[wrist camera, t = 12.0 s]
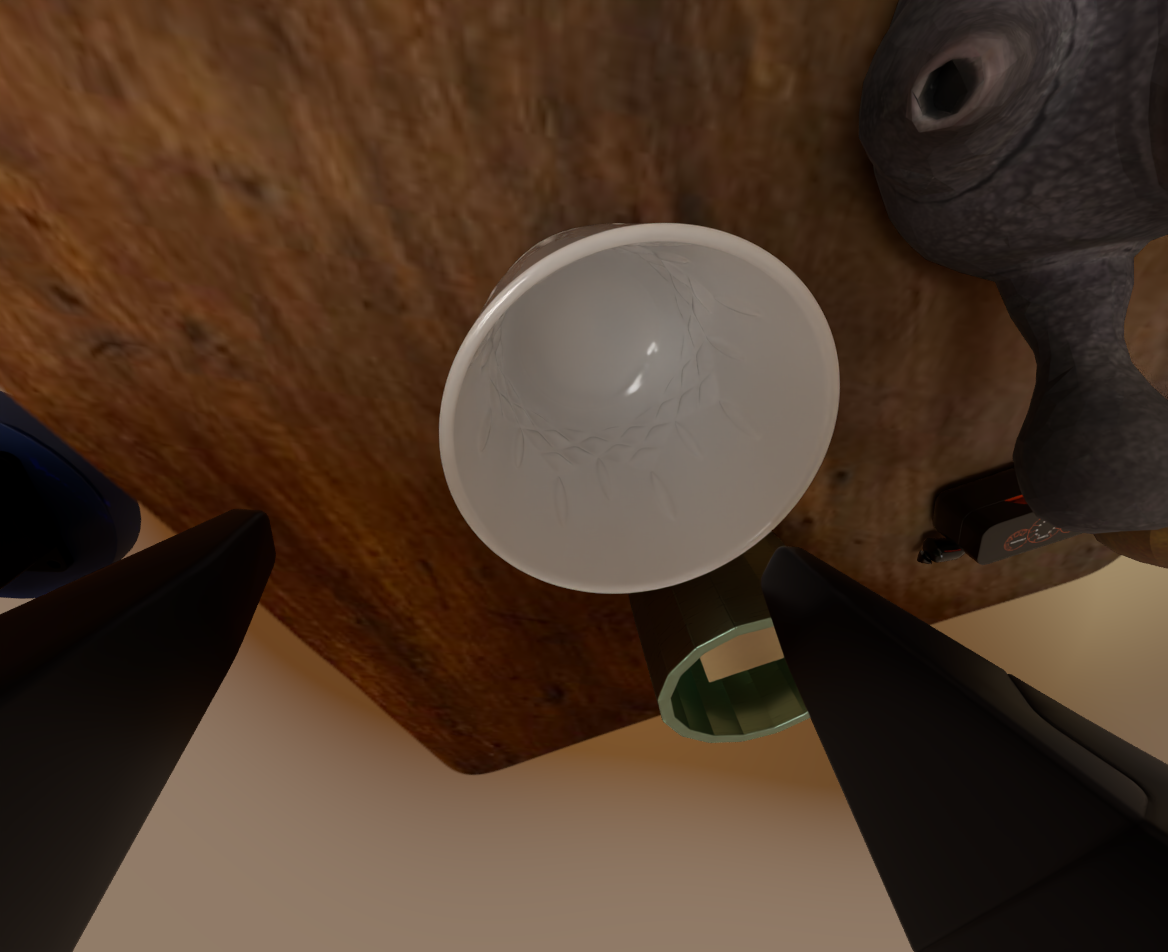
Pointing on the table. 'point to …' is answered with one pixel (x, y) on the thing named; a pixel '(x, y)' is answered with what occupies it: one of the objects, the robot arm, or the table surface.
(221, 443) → the table surface
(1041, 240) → the teapot
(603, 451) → the white cup
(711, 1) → the table surface
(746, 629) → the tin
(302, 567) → the table surface
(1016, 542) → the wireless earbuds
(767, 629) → the block
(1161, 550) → the potato
